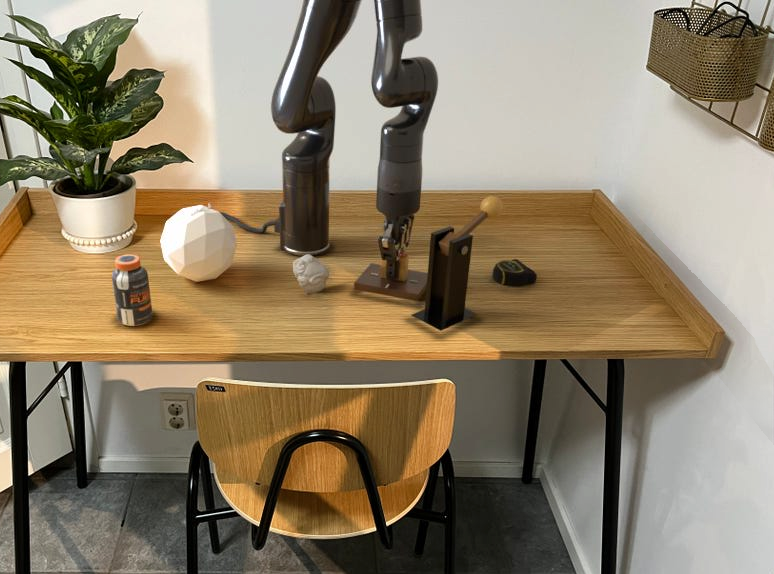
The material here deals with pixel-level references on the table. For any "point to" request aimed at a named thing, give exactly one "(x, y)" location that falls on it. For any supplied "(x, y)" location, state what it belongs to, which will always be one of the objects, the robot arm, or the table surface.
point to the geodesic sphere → (198, 243)
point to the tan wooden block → (402, 267)
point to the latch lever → (475, 221)
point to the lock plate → (392, 283)
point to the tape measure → (513, 273)
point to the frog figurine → (310, 274)
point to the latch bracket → (447, 282)
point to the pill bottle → (131, 291)
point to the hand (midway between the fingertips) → (394, 275)
